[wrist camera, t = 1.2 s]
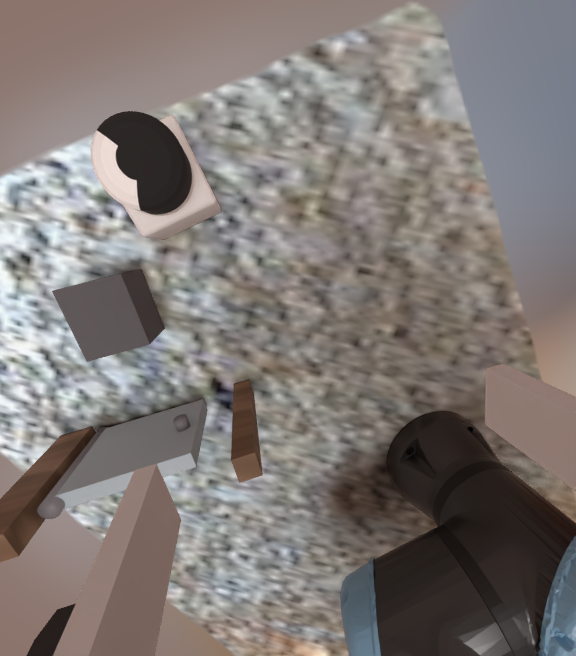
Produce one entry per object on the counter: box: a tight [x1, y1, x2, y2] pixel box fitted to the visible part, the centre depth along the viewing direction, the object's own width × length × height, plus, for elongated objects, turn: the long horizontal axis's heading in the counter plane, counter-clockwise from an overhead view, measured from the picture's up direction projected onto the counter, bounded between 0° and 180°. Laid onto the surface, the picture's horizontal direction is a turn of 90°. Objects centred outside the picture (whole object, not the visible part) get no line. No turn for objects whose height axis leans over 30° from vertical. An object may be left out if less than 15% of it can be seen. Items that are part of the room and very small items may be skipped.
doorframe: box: [0, 380, 262, 562], centre depth 30 cm, size 2×24×14 cm, turn 104°
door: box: [37, 399, 207, 519], centre depth 30 cm, size 3×13×11 cm, turn 104°
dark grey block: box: [52, 269, 165, 362], centre depth 30 cm, size 7×6×6 cm
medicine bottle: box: [91, 111, 221, 240], centre depth 25 cm, size 7×7×12 cm
